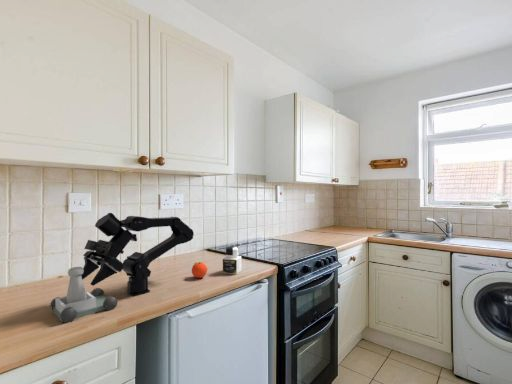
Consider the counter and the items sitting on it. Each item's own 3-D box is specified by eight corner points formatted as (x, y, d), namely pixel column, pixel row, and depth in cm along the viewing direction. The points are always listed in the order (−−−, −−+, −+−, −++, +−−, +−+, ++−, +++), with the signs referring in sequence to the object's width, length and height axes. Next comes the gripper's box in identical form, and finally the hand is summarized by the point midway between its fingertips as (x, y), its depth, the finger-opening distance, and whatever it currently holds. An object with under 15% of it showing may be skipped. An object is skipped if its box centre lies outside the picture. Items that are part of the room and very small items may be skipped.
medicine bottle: (222, 273, 135) (222, 248, 135) (228, 269, 142) (228, 245, 142) (236, 274, 133) (236, 249, 133) (241, 270, 140) (241, 246, 139)
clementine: (187, 277, 129) (187, 261, 129) (200, 274, 134) (200, 259, 134) (197, 281, 124) (197, 264, 124) (210, 277, 129) (210, 261, 129)
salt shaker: (85, 302, 97) (85, 264, 97) (88, 307, 92) (87, 267, 92) (65, 306, 93) (64, 267, 93) (66, 312, 89) (66, 271, 89)
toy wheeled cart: (102, 297, 105) (102, 285, 105) (117, 307, 96) (117, 294, 96) (50, 310, 94) (50, 297, 94) (61, 324, 84) (61, 309, 84)
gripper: (88, 228, 105) (54, 265, 96) (114, 232, 94) (78, 274, 85) (110, 246, 111) (80, 281, 103) (136, 252, 100) (105, 292, 91)
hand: (85, 282), depth 95 cm, fingers open, 9 cm apart
